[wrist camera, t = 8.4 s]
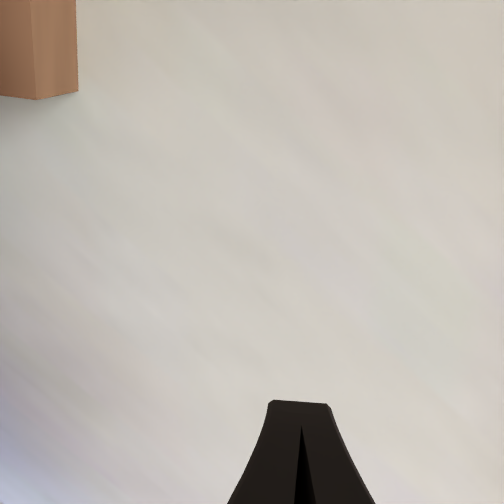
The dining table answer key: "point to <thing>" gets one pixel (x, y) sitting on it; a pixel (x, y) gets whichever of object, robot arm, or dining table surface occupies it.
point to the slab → (38, 48)
